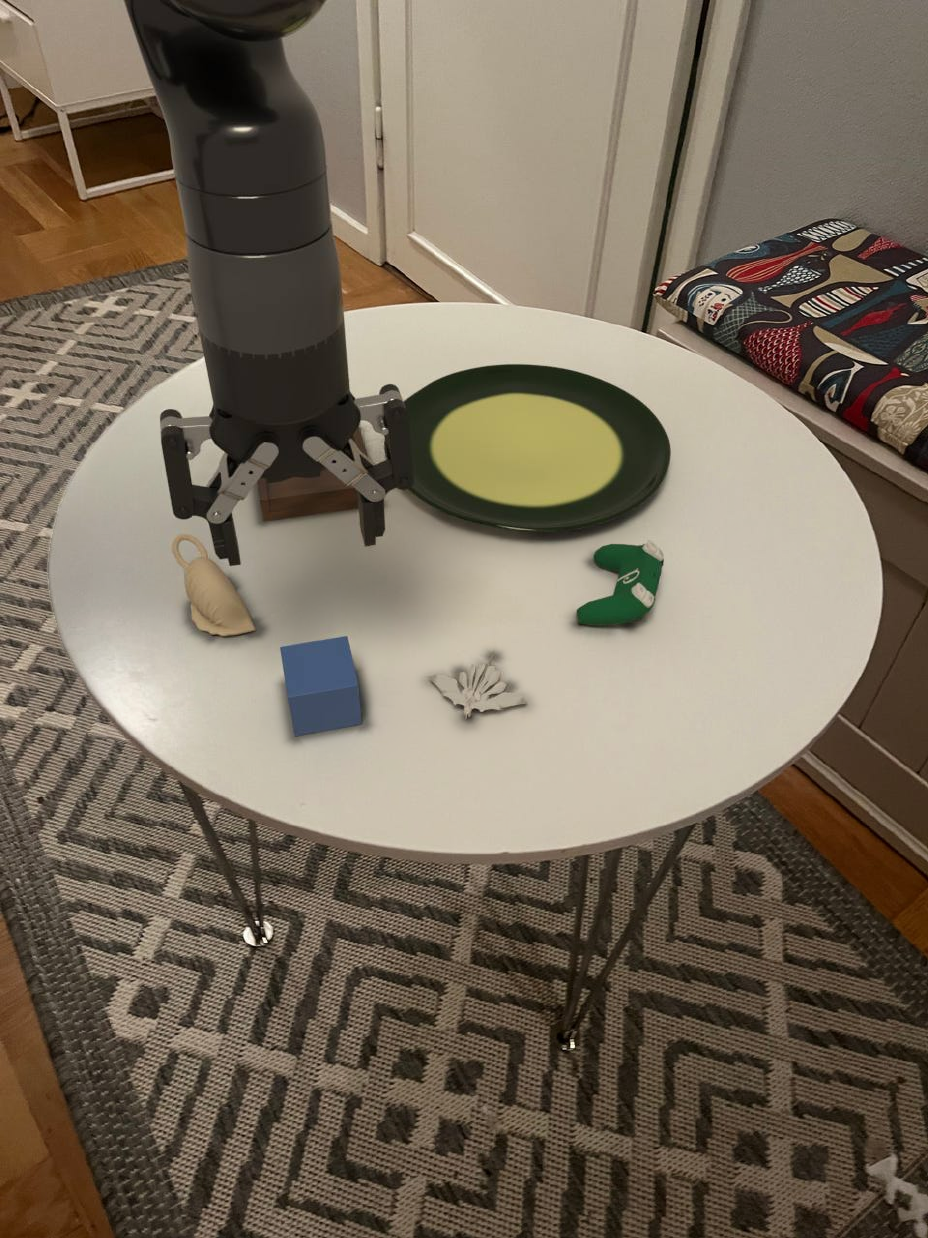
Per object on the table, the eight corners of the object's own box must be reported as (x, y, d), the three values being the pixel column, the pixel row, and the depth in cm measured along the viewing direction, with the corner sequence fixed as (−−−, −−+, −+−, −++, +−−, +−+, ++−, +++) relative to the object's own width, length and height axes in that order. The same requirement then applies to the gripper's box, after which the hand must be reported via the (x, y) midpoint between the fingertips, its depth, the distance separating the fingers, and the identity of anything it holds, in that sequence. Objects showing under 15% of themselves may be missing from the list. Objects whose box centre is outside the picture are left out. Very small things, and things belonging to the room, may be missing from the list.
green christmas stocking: (597, 648, 79) (657, 624, 75) (569, 618, 78) (629, 592, 74) (618, 576, 85) (674, 551, 82) (592, 547, 84) (648, 520, 80)
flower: (446, 652, 77) (448, 625, 76) (541, 676, 76) (545, 649, 74) (414, 710, 72) (415, 682, 70) (516, 737, 70) (520, 709, 68)
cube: (294, 736, 70) (287, 697, 67) (286, 686, 73) (279, 646, 70) (362, 724, 71) (358, 685, 68) (351, 675, 74) (347, 635, 71)
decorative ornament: (208, 649, 76) (195, 601, 72) (176, 585, 81) (163, 537, 77) (256, 632, 77) (247, 584, 73) (222, 570, 82) (212, 522, 78)
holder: (263, 521, 87) (259, 500, 85) (250, 443, 96) (247, 422, 94) (377, 505, 89) (376, 484, 87) (355, 430, 97) (353, 409, 96)
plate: (453, 583, 82) (453, 562, 80) (345, 414, 99) (343, 394, 98) (724, 504, 90) (729, 483, 88) (580, 361, 108) (582, 341, 106)
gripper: (128, 363, 45) (191, 605, 57) (420, 332, 48) (424, 569, 60) (128, 291, 51) (185, 526, 62) (392, 266, 53) (400, 497, 65)
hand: (302, 547), depth 61 cm, fingers open, 8 cm apart
